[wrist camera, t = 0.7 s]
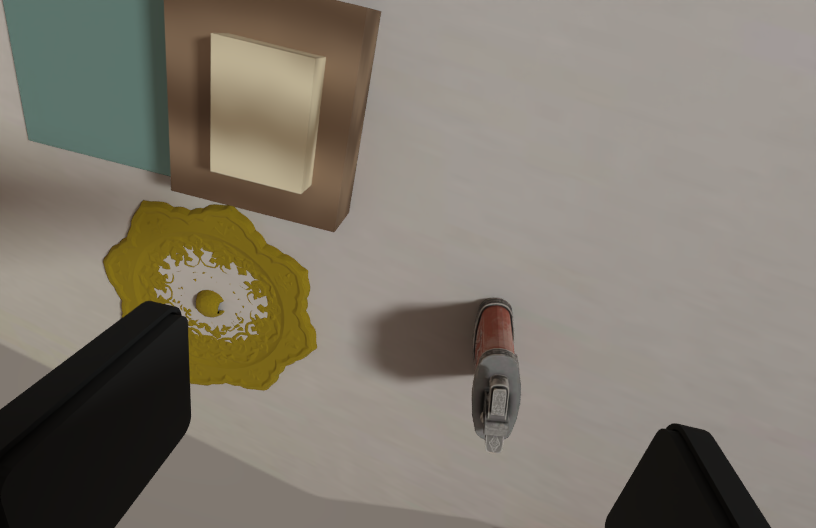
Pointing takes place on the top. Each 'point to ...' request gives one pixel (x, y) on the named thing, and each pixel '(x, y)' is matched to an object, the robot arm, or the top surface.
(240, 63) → the tile
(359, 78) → the brown flat block
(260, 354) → the decorative medallion
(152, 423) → the robot arm
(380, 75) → the top surface
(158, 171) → the mat
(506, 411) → the lighter
